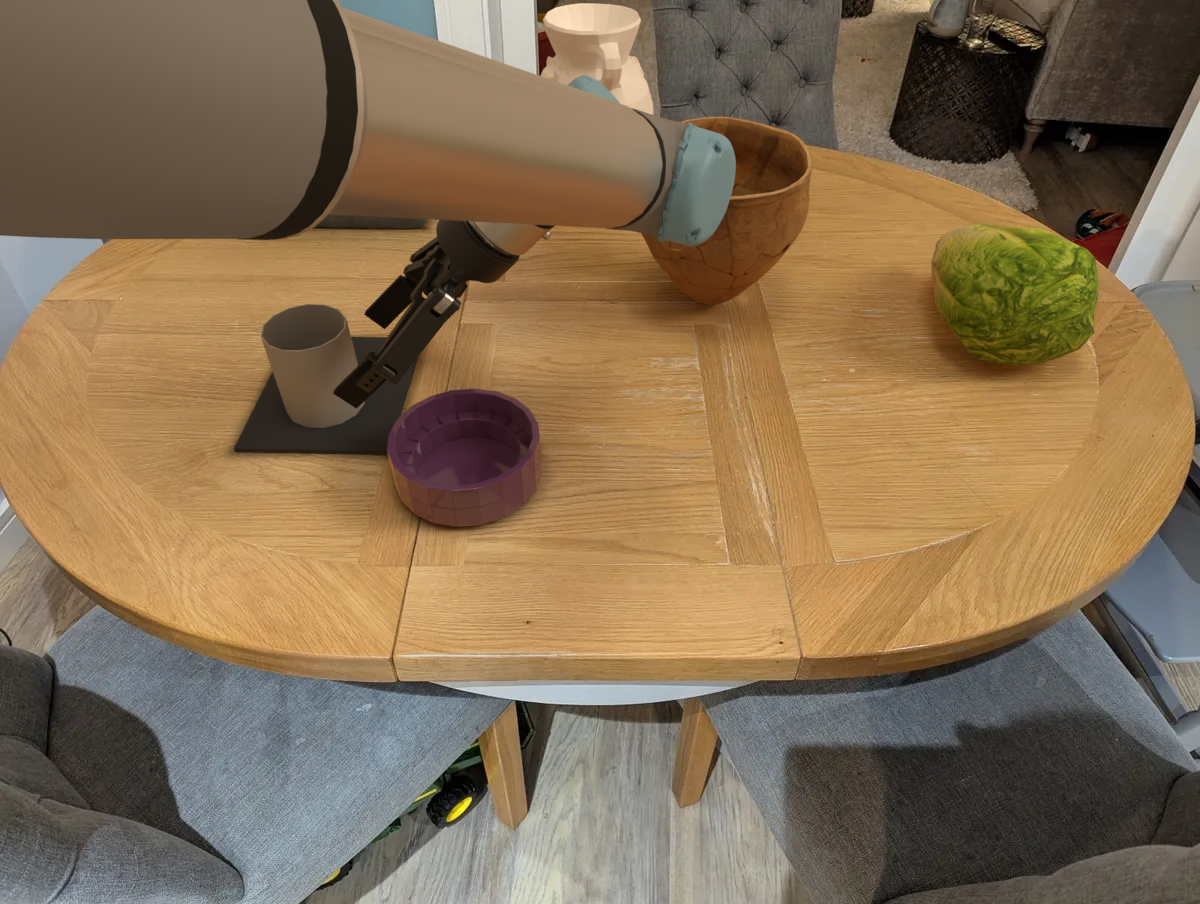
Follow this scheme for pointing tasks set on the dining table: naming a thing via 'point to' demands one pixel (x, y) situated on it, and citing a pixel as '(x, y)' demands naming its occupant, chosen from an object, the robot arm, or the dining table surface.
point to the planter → (369, 222)
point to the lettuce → (1015, 292)
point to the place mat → (353, 436)
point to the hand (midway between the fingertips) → (361, 357)
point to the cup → (311, 362)
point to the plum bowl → (465, 457)
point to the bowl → (745, 214)
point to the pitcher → (597, 50)
